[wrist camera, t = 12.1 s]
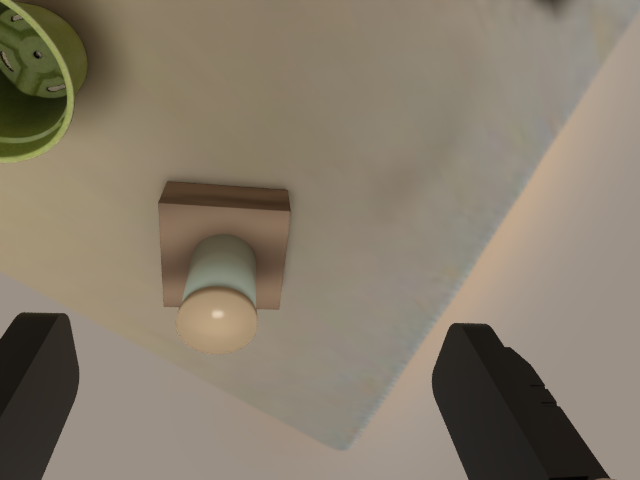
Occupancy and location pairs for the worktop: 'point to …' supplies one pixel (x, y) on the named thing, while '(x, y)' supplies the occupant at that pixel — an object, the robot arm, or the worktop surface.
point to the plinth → (223, 218)
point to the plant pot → (36, 80)
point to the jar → (219, 296)
